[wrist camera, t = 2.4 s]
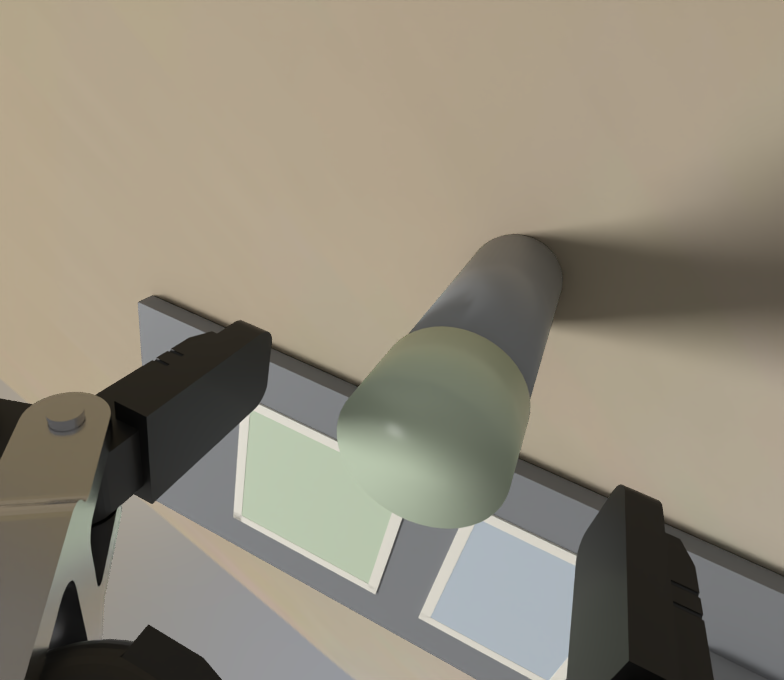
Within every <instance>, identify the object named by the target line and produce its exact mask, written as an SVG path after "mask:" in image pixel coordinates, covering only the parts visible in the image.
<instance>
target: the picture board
mask: <svg viewBox="0 0 784 680" xmlns="http://www.w3.org/2000/svg"><path fill="white" fill-rule="evenodd" d="M138 311H139V326H140V341H141V356H142V366H143V365H145V364H147V363H148V362H150V361H152V360H153V361H155V360H156V357H158V356H160V355H161V354H163V353H165V352H166V351H170V350H171V348H173V347H174V346H176V345H178V344H179V343H181V342H182V341H184V340H186V339H187V338H189V337H193V336H196V335H200V334H204V333H207V332H211V331H213V332H215V333H219V332H220V331H222V330H223V329H225V328H224V327H222V326H220V325H218V324H215V323H213V322H211V321H209V320H206V319H204V318H202V317H200V316H198V315H195V314H193V313H191V312H189V311H186V310H184V309H182V308H180V307H177V306H175V305H173V304H171V303H168V302H166V301H164V300H162V299H159V298H157V297H155V296H153V295H152V296H150V297H148V298H146V299H143V300H141V301H139V302H138ZM357 388H358V387H357V386H355V385H352V384H350V383H348V382H346V381H343V380H341V379H339V378H337V377H334V376H332V375H330V374H328V373H325V372H323V371H321V370H319V369H316V368H314V367H312V366H310V365H308V364H305V363H303V362H301V361H299V360H296V359H294V358H292V357H290V356H287V355H285V354H283V353H281V352H278V351H276V350H274V349H272V348H271V355H270V365H269V374H268V383H267V388H266V391H265V394H264V396H263V398H262V400H261V402H260V403H259V405H258V406H257V407H256V408H255V409H254V410H253V411H252V412H251V413H250V414H249V415H248V416H247V417H246V418H245V419H244V420H242V421H241V422H240V423H239V424H238V425H237V426H236V427H235V428H234V429H233V430H232V431H231V432H229V433H228V434H227V435H226V436H225V437H224V438H223V439H222V440H221V441H220V442H219V443H218V444H217V445H215V446H214V447H213V448H212V449H211V450H210V451H209V452H208V453H207V454H206V455H205V456H204V457H202V458H201V459H200V460H199V461H198V462H197V463H196V464H195V465H194V466H193V467H192V468H191V469H190V470H188V471H187V472H186V473H185V474H184V475H183V476H182V477H181V478H180V479H179V480H178V481H177V482H175V483H174V484H173V485H172V486H171V487H170V488H169V489H168V490H167V491H166V492H165V493H164V494H163V495H161V496H160V497H159V498H158V499H157V500H156V501H158V502H160V503H161V504H163V505H165V506H167V507H168V508H170V509H172V510H174V511H176V512H177V513H179V514H181V515H183V516H185V517H186V518H188V519H190V520H192V521H194V522H195V523H197V524H199V525H201V526H203V527H204V528H206V529H208V530H210V531H211V532H213V533H215V534H217V535H219V536H220V537H222V538H224V539H226V540H228V541H229V542H231V543H233V544H235V545H237V546H238V547H240V548H242V549H244V550H246V551H247V552H249V553H251V554H253V555H255V556H256V557H258V558H260V559H262V560H263V561H265V562H267V563H269V564H271V565H272V566H274V567H276V568H278V569H280V570H281V571H283V572H285V573H287V574H289V575H290V576H292V577H294V578H296V579H298V580H299V581H301V582H303V583H305V584H306V585H308V586H310V587H312V588H314V589H315V590H317V591H319V592H321V593H323V594H324V595H326V596H328V597H330V598H332V599H333V600H335V601H337V602H339V603H341V604H342V605H344V606H346V607H348V608H350V609H351V610H353V611H355V612H357V613H358V614H360V615H362V616H364V617H366V618H367V619H369V620H371V621H373V622H375V623H376V624H378V625H380V626H382V627H384V628H385V629H387V630H389V631H391V632H393V633H394V634H396V635H398V636H400V637H401V638H403V639H405V640H407V641H409V642H410V643H412V644H414V645H416V646H418V647H419V648H421V649H423V650H425V651H427V652H428V653H430V654H432V655H434V656H436V657H437V658H439V659H441V660H443V661H444V662H446V663H448V664H450V665H452V666H453V667H455V668H457V669H459V670H461V671H462V672H464V673H466V674H468V675H470V676H471V677H473V678H475V679H477V680H566V678H567V665H568V653H569V640H570V628H571V615H572V603H573V590H574V578H575V565H576V557H577V552H578V549H579V546H580V543H581V540H582V538H583V536H584V534H585V532H586V530H587V529H588V527H589V526H590V524H591V523H592V521H593V520H594V518H595V517H596V515H597V514H598V512H599V511H600V510H601V508H602V507H603V505H604V504H605V502H606V501H607V499H608V498H606V497H604V496H602V495H599V494H597V493H595V492H593V491H590V490H588V489H586V488H584V487H581V486H579V485H577V484H575V483H572V482H570V481H568V480H566V479H563V478H561V477H559V476H557V475H554V474H552V473H550V472H548V471H545V470H543V469H541V468H539V467H536V466H534V465H532V464H530V463H528V462H525V461H523V460H521V459H519V458H518V461H517V464H516V468H515V472H514V475H513V479H512V482H511V486H510V490H509V492H508V495H507V497H506V499H505V501H504V503H503V504H502V506H501V507H500V508H499V509H498V510H497V511H496V512H495V513H494V514H493V515H492V516H490V517H489V518H488V519H486V520H484V521H482V522H480V523H477V524H475V525H472V526H468V527H463V528H453V529H445V528H434V527H428V526H424V525H420V524H417V523H414V522H411V521H408V520H406V519H404V518H401V517H399V516H397V515H395V514H394V513H392V512H390V511H388V510H387V509H385V508H384V507H382V506H381V505H379V504H378V503H377V502H376V501H374V500H373V499H372V498H371V497H370V496H369V495H368V494H367V493H366V492H365V491H363V489H362V488H361V487H360V486H359V485H358V484H357V483H356V481H355V480H354V478H353V477H352V476H351V474H350V473H349V471H348V469H347V467H346V466H345V463H344V461H343V459H342V457H341V453H340V450H339V447H338V441H337V423H338V418H339V415H340V412H341V410H342V408H343V406H344V404H345V402H346V401H347V400H348V398H349V397H350V396H351V395H352V394H353V392H354V391H355V390H356V389H357ZM664 525H665V532H666V533H668V534H670V535H673V536H675V537H677V538H679V539H681V541H682V543H683V545H684V547H685V548H686V550H687V552H688V554H689V556H690V558H691V559H692V561H693V563H694V565H695V567H696V573H697V579H698V585H699V591H700V593H699V596H698V597H699V598H701V604H702V610H703V616H702V620H704V622H705V628H706V634H707V640H708V646H709V652H710V658H711V664H712V670H713V677H714V680H784V577H783V576H781V575H779V574H777V573H774V572H772V571H770V570H768V569H765V568H763V567H761V566H759V565H757V564H754V563H752V562H750V561H748V560H745V559H743V558H741V557H739V556H736V555H734V554H732V553H730V552H727V551H725V550H723V549H721V548H718V547H716V546H714V545H712V544H709V543H707V542H705V541H703V540H700V539H698V538H696V537H694V536H691V535H689V534H687V533H685V532H682V531H680V530H678V529H676V528H673V527H671V526H669V525H667V524H664Z"/></svg>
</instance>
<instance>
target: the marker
mask: <svg viewBox="0 0 784 680" xmlns="http://www.w3.org/2000/svg"><path fill="white" fill-rule="evenodd" d="M562 282H563V278H562V271H561V267H560V264H559V262H558V260H557V258H556V256H555V255H554V254H553V252H552V251H551V250H550V249H549V248H548V247H547V246H545V245H544V244H543V243H541V242H540V241H538V240H536V239H534V238H531V237H528V236H524V235H504V236H500V237H497V238H495V239H492V240H491V241H489V242H487V243H486V244H484V245H483V246H482V247H481V248H480V249H479V250H478V251H477V252H476V254H475V255H474V256H473V257H472V258H471V260H470V261H469V262H468V263H467V264H466V266H465V267H464V268H463V269H462V270H461V272H460V273H459V274H458V275H457V276H456V278H455V279H454V280H453V281H452V282H451V284H450V285H449V286H448V287H447V288H446V290H445V291H444V292H443V293H442V294H441V296H440V297H439V298H438V299H437V300H436V302H435V303H434V304H433V305H432V306H431V308H430V309H429V310H428V311H427V312H426V314H425V315H424V316H423V317H422V318H421V320H420V321H419V322H418V323H417V324H416V326H415V327H414V328H413V329H412V330H411V332H410V333H409V334H408V335H406V336H404V337H403V338H402V339H400V340H399V341H398V342H397V343H396V344H395V345H394V346H393V347H392V348H391V349H390V350H389V351H388V353H387V354H386V355H385V356H384V357H383V358H382V360H381V361H380V362H379V363H378V364H377V365H376V367H375V368H374V369H373V370H372V371H371V372H370V374H369V375H368V376H367V377H366V378H365V379H364V381H363V382H362V383H361V384H360V385H359V387H358V388H357V389H356V390H355V391H354V392H353V394H352V395H351V396H350V397H349V398H348V400H347V401H346V402H345V404H344V406H343V408H342V410H341V412H340V415H339V418H338V423H337V441H338V447H339V450H340V453H341V457H342V459H343V461H344V463H345V466H346V467H347V469H348V471H349V473H350V474H351V476H352V477H353V478H354V480H355V481H356V483H357V484H358V485H359V486H360V487H361V488H362V489H363V491H365V492H366V493H367V494H368V495H369V496H370V497H371V498H372V499H373V500H374V501H376V502H377V503H378V504H379V505H381V506H382V507H384V508H385V509H387V510H388V511H390V512H392V513H394V514H395V515H397V516H399V517H401V518H404V519H406V520H408V521H411V522H414V523H417V524H420V525H424V526H428V527H434V528H445V529H453V528H463V527H468V526H472V525H475V524H477V523H480V522H482V521H484V520H486V519H488V518H489V517H490V516H492V515H493V514H494V513H495V512H496V511H497V510H498V509H499V508H500V507H501V506H502V504H503V503H504V501H505V499H506V497H507V495H508V492H509V490H510V486H511V482H512V479H513V475H514V472H515V468H516V464H517V461H518V457H519V453H520V450H521V446H522V442H523V439H524V435H525V431H526V428H527V424H528V420H529V415H530V398H531V394H532V391H533V387H534V384H535V380H536V377H537V373H538V370H539V366H540V363H541V359H542V356H543V352H544V349H545V345H546V342H547V339H548V335H549V332H550V328H551V325H552V321H553V318H554V314H555V311H556V307H557V304H558V300H559V297H560V293H561V289H562Z"/></svg>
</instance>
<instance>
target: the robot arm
mask: <svg viewBox="0 0 784 680" xmlns="http://www.w3.org/2000/svg"><path fill="white" fill-rule="evenodd" d="M271 345H272V336H271V334H270V333H269V332H267V331H265V330H263V329H260V328H258V327H256V326H253V325H251V324H249V323H246V322H244V321H241V320H239V321H236V322H234V323H233V324H231V325H230V326H228V327H227V328H225V329H223V330H222V331H220V332H219V333H215V332H213V331H211V332H207V333H204V334H200V335H196V336H193V337H189V338H187V339H186V340H184V341H182V342H181V343H179V344H178V345H176V346H174V347H173V348H171V350H170V351H166V352H165V353H163V354H161V355H160V356H158V357H156V360H155V361H153V360H152V361H150V362H148V363H147V364H145V365H143V366H142V367H140V368H139V369H137V370H135V371H134V372H132V373H130V374H129V375H127V376H125V377H124V378H122V379H121V380H119V381H117V382H116V383H114V384H112V385H111V386H109V387H108V388H106V389H104V390H103V391H101V392H99V393H98V394H96V395H93V394H90V393H83V392H67V393H61V394H56V395H52V396H49V397H46V398H44V399H42V400H40V401H38V402H36V403H34V404H28V403H22V402H17V401H11V400H5V399H0V680H222V679H221V678H220V677H219V676H218V675H217V673H216V672H215V671H214V670H213V669H212V667H211V666H210V665H209V664H208V663H207V662H206V661H205V659H204V658H202V657H201V656H199V655H198V654H196V653H195V652H193V651H191V650H189V649H188V648H186V647H185V646H183V645H181V644H179V643H178V642H176V641H175V640H173V639H171V638H170V637H168V636H166V635H165V634H163V633H162V632H160V631H158V630H157V629H155V628H153V627H152V626H150V625H148V626H147V627H146V628H145V629H144V630H143V632H142V633H141V634H140V635H139V636H138V638H137V639H136V640H135V641H134V642H133V641H128V640H116V639H115V640H114V639H106V640H105V639H103V640H102V635H103V620H104V618H103V617H104V616H103V615H104V601H105V594H106V589H107V583H108V579H109V574H110V569H111V564H112V559H113V554H114V549H115V544H116V539H117V533H118V528H119V523H120V518H121V512H122V506H121V505H122V504H123V503H124V502H125V501H126V500H127V499H129V497H131V496H132V495H133V494H134V495H136V496H138V497H140V498H142V499H144V500H146V501H147V502H149V503H151V504H153V503H154V502H155V501H156V500H157V499H158V498H159V497H160V496H161V495H163V494H164V493H165V492H166V491H167V490H168V489H169V488H170V487H171V486H172V485H173V484H174V483H175V482H177V481H178V480H179V479H180V478H181V477H182V476H183V475H184V474H185V473H186V472H187V471H188V470H190V469H191V468H192V467H193V466H194V465H195V464H196V463H197V462H198V461H199V460H200V459H201V458H202V457H204V456H205V455H206V454H207V453H208V452H209V451H210V450H211V449H212V448H213V447H214V446H215V445H217V444H218V443H219V442H220V441H221V440H222V439H223V438H224V437H225V436H226V435H227V434H228V433H229V432H231V431H232V430H233V429H234V428H235V427H236V426H237V425H238V424H239V423H240V422H241V421H242V420H244V419H245V418H246V417H247V416H248V415H249V414H250V413H251V412H252V411H253V410H254V409H255V408H256V407H257V406H258V405H259V403H260V402H261V400H262V398H263V396H264V394H265V391H266V388H267V383H268V374H269V365H270V355H271ZM699 593H700V591H699V585H698V579H697V573H696V567H695V565H694V563H693V561H692V559H691V558H690V556H689V554H688V552H687V550H686V548H685V547H684V545H683V543H682V541H681V539H679V538H677V537H675V536H673V535H670V534H668V533H666V532H665V525H664V516H663V508H662V504H661V502H660V501H659V500H656V499H654V498H652V497H649V496H647V495H645V494H642V493H640V492H638V491H635V490H633V489H631V488H628V487H626V486H624V485H618V486H617V487H616V488H615V489H614V490H613V492H612V493H611V495H610V496H609V498H608V499H607V501H606V502H605V504H604V505H603V507H602V508H601V510H600V511H599V512H598V514H597V515H596V517H595V518H594V520H593V521H592V523H591V524H590V526H589V527H588V529H587V530H586V532H585V534H584V536H583V538H582V540H581V543H580V546H579V549H578V552H577V557H576V565H575V578H574V590H573V603H572V615H571V628H570V640H569V653H568V665H567V678H566V680H714V677H713V670H712V664H711V658H710V652H709V646H708V640H707V634H706V628H705V622H704V620H702V616H703V610H702V604H701V598H699V597H698V596H699Z"/></svg>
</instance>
